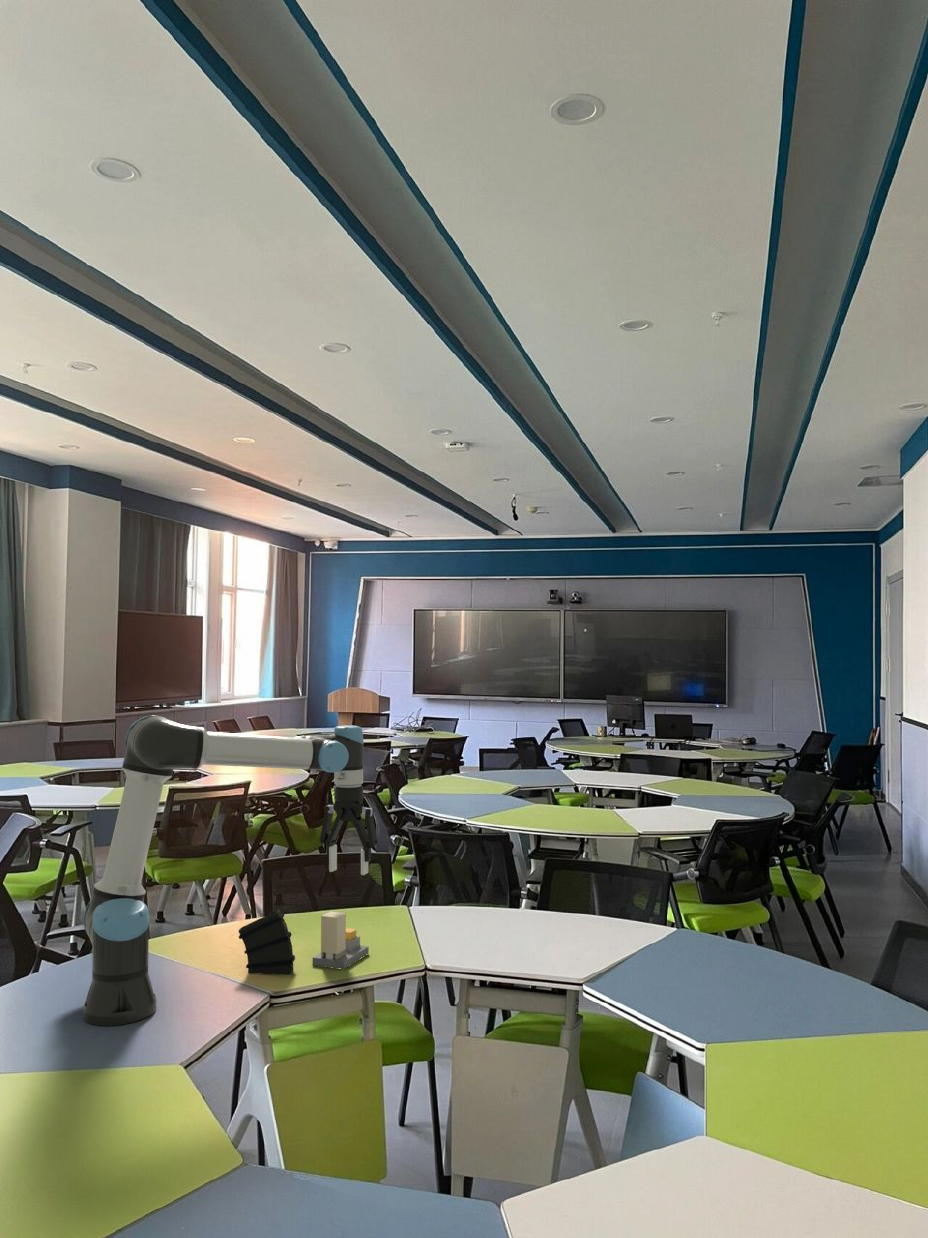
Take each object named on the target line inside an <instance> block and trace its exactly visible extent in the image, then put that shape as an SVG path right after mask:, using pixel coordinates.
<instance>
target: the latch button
mask: <svg viewBox="0 0 928 1238" xmlns="http://www.w3.org/2000/svg"><path fill="white" fill-rule="evenodd" d="M356 936H357V929H356V928H350V927H346V940H353V939H355V938H356Z"/></svg>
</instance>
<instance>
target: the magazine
mask: <svg viewBox="0 0 928 1238" xmlns="http://www.w3.org/2000/svg"><path fill="white" fill-rule="evenodd" d="M284 917H285V913H284V912H282V911H281V909H276V910H275V911H273V912H271V913H269V914H266V915H264V916H263V917H260V918H258V919H256V920H254V921H251V922H250V923H247V924H246V925H244V926H241V927H240V928H239V929H238V933H239V935H238V939H239V940H242V942H243V945H244V947H245V950H244V954H245V955H247V957H246V959H247V964H246V966H245V969H247V974H249V973H264V974H263V975H273V974H272V973H275V974H274V975H291V974H293V971H294V962H295V960H296V955H294V954H293V945H292V940H291V937H292V932H291V931H289V928H288V926H287V923H286V920H285V919H284ZM267 973H268V974H267ZM269 973H270V974H269Z"/></svg>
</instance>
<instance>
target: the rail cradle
mask: <svg viewBox="0 0 928 1238" xmlns="http://www.w3.org/2000/svg"><path fill="white" fill-rule="evenodd" d="M369 949H370V948H369V946H368V945H361V936H359V935H356V938H355V939H353V940H346V955H344V956H342V957H341V958H339V959H337V960H335V954H333V953H326V956H325V957H323V958H321V952H320V953H317V954H316V955H314V956H313V957H312V966H313V965H317V966H316V967H320V966H324V967H323V968H327V967H333V968H332V969H334V968H341V969H345V968H346V967H348V966H349V965H351V964H352V965H354V964H355V963H354V962H355V961H357V960H359V959H360V958H361V957H363V956H365V955H366V954H368V953H369ZM368 955H369V954H368ZM365 957H366V956H365ZM363 958H364V957H363ZM360 960H361V959H360ZM360 960H359V961H360ZM357 962H358V961H357ZM353 963H354V964H353ZM352 965H351V966H352ZM325 966H326V967H325ZM349 967H350V966H349ZM349 967H348V968H349ZM346 969H347V968H346ZM346 969H345V970H346Z"/></svg>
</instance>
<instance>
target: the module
mask: <svg viewBox="0 0 928 1238" xmlns="http://www.w3.org/2000/svg"><path fill="white" fill-rule="evenodd" d="M346 917H347V913H345V912H338V911H331V910H330V911H328V912H326V913H324V914H322V915H320V922H321V923H320V926H321V927H320V953H321V958H323V957H325V956H326V953H333V954H335V960H337V959H339V958H341V957H342V956H344V955H346V928H347V925H346V923H347V921H346V920H347V919H346Z"/></svg>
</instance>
